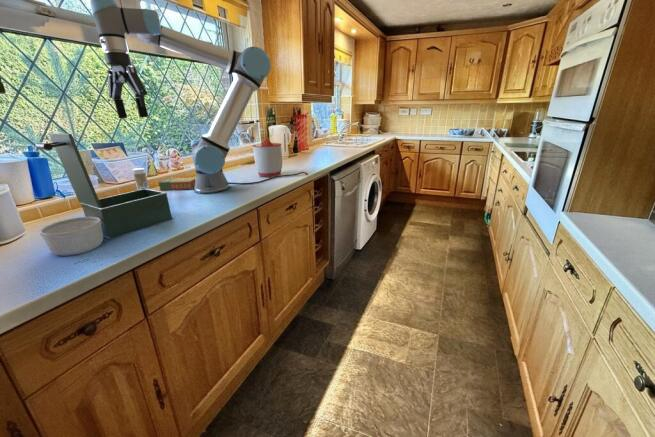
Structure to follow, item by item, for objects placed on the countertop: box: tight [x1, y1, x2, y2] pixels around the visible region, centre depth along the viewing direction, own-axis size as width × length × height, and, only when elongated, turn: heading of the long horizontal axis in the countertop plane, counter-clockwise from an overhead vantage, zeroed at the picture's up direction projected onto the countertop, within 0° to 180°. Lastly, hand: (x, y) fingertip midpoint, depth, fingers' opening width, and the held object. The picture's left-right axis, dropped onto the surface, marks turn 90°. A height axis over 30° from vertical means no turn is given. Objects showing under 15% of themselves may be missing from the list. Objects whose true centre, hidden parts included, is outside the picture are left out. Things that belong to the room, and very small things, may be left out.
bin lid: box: [35, 132, 101, 208], centre depth 83 cm, size 21×13×6 cm
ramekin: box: [39, 216, 104, 257], centre depth 83 cm, size 13×13×7 cm
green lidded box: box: [80, 188, 173, 240], centre depth 99 cm, size 20×13×10 cm
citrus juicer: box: [252, 138, 283, 178], centre depth 167 cm, size 16×17×20 cm
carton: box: [158, 176, 196, 191], centre depth 148 cm, size 8×16×4 cm, turn 88°
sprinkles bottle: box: [131, 167, 150, 191], centre depth 127 cm, size 5×5×13 cm
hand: (133, 117), depth 111 cm, fingers open, 13 cm apart
